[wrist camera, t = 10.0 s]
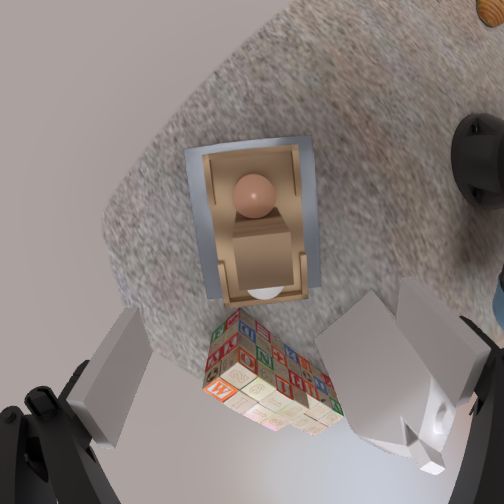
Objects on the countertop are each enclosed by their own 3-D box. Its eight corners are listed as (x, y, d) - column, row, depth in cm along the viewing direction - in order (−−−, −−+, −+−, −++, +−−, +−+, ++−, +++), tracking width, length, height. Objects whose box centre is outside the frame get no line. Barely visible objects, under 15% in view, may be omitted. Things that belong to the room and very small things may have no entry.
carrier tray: (207, 154, 31) (183, 156, 19) (290, 145, 31) (319, 141, 18) (227, 289, 36) (219, 357, 24) (301, 281, 36) (326, 345, 24)
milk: (313, 339, 44) (360, 490, 19) (371, 289, 41) (468, 419, 16) (355, 374, 46) (406, 499, 22) (407, 331, 44) (487, 445, 19)
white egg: (277, 245, 31) (282, 260, 26) (281, 277, 32) (286, 296, 28) (242, 250, 31) (242, 266, 27) (247, 281, 32) (247, 301, 28)
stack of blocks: (332, 378, 47) (350, 432, 35) (304, 397, 48) (316, 451, 36) (239, 306, 42) (237, 362, 30) (210, 332, 43) (200, 391, 31)
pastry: (493, 37, 27) (506, 33, 23) (469, 9, 26) (481, 3, 22) (501, 14, 25) (513, 10, 21) (478, -12, 23) (489, -17, 20)
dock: (304, 136, 34) (311, 135, 30) (314, 273, 40) (320, 286, 36) (190, 149, 34) (183, 149, 31) (211, 285, 40) (207, 299, 36)
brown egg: (272, 173, 28) (277, 176, 24) (270, 209, 30) (274, 219, 25) (235, 171, 28) (233, 174, 24) (234, 207, 29) (232, 217, 25)
